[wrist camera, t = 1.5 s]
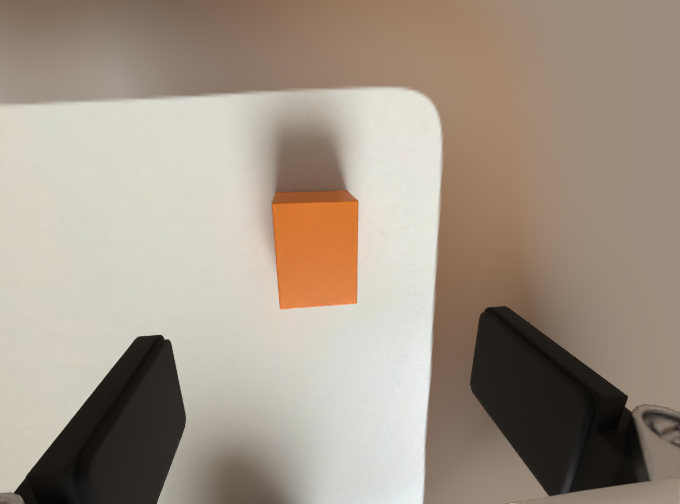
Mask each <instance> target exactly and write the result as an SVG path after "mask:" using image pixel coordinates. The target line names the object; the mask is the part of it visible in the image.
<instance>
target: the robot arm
mask: <svg viewBox="0 0 680 504" xmlns="http://www.w3.org/2000/svg"><path fill="white" fill-rule="evenodd" d="M470 385H471V390H472V392H473V394H474V395H475V397H476V398H477V399H478V401H479V402H480V403H481V405H482V406H483V407H484V409H485V410H486V412H487V413H488V414H489V416H490V417H491V418H492V420H493V421H494V422H495V423H496V425H497V426H498V428H499V429H500V430H501V432H502V433H503V435H504V436H505V437H506V438H507V440H508V441H509V442H510V444H511V445H512V447H513V448H514V449H515V451H516V452H517V453H518V455H519V456H520V457H521V459H522V460H523V462H524V463H525V464H526V466H527V467H528V468H529V470H530V471H531V472H532V474H533V475H534V476H535V478H536V479H537V480H538V482H539V483H540V485H541V486H542V487H543V489H544V490H545V491H546V492H547V494H548V495H549V497H544V498H537V499H531V500H525V501H519V502H513V503H507V504H680V412H678V411H675V410H672V409H670V408H667V407H662V406H658V405H648V404H643V405H639V406H636V407H635V409H633V412H631V411H629V410H628V409H627V408H626V407H625V404H626V401H627V398H628V396H627V395H625V394H624V393H623V392H621V391H620V390H619V389H617V388H616V387H615V386H613V385H612V384H611V383H609V382H608V381H607V380H605V379H604V378H603V377H601V376H600V375H598V374H597V373H596V372H594V371H593V370H592V369H590V368H589V367H587V366H586V365H585V364H584V363H582V362H581V361H580V360H578V359H577V358H576V357H574V356H573V355H571V354H570V353H569V352H568V351H566V350H565V349H563V348H562V347H561V346H559V345H558V344H557V343H555V342H554V341H553V340H551V339H550V338H549V337H547V336H546V335H545V334H543V333H542V332H540V331H539V330H538V329H536V328H535V327H534V326H532V325H531V324H530V323H528V322H527V321H526V320H524V319H523V318H522V317H520V316H519V315H517V314H516V313H515V312H513V311H512V310H511V309H510V308H508V307H506V306H501V307H489V308H486V309H485V311H484V312H483V313H481V315H480V318H479V325H478V332H477V338H476V346H475V352H474V359H473V366H472V373H471V380H470ZM185 423H186V415H185V409H184V404H183V399H182V394H181V390H180V385H179V380H178V375H177V370H176V365H175V360H174V355H173V350H172V345H171V342H170V340H168V339H167V340H164V338H163V336H162V335H152V336H140V337H137V338H136V339H135V340H134V342H133V343H132V344H131V345H130V347H129V348H128V349H127V350H126V352H125V353H124V354H123V355H122V357H121V358H120V359H119V360H118V362H117V363H116V364H115V365H114V367H113V368H112V369H111V370H110V372H109V373H108V374H107V375H106V377H105V378H104V379H103V380H102V382H101V383H100V384H99V385H98V387H97V388H96V389H95V390H94V392H93V393H92V394H91V396H90V397H89V398H88V399H87V401H86V402H85V403H84V404H83V406H82V407H81V408H80V409H79V411H78V412H77V413H76V414H75V416H74V417H73V418H72V419H71V421H70V422H69V423H68V424H67V426H66V427H65V428H64V429H63V431H62V432H61V433H60V434H59V436H58V437H57V438H56V439H55V441H54V442H53V443H52V444H51V446H50V447H49V448H48V449H47V451H46V452H45V453H44V454H43V456H42V457H41V458H40V459H39V461H38V462H37V463H36V465H35V466H34V467H33V468H32V470H31V471H30V472H29V473H28V475H27V476H26V478H25V479H24V481H23V482H22V483H21V484H20V486H19V487H18V488H17V489H16V491H15V492H14V493H11V492H9V493H0V504H157V501H158V499H159V496H160V493H161V491H162V488H163V485H164V482H165V480H166V477H167V474H168V472H169V469H170V466H171V464H172V461H173V458H174V456H175V453H176V450H177V447H178V445H179V442H180V439H181V437H182V434H183V431H184V428H185Z"/></svg>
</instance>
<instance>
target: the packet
mask: <svg viewBox="0 0 680 504" xmlns="http://www.w3.org/2000/svg"><path fill="white" fill-rule="evenodd" d="M272 212H273V225H274V238H275V251H276V264H277V277H278V291H279V304H280V309H290V308H303V307H317V306H330V305H343V304H356V303H357V253H358V200H357V199H356V198H354V197H353V196H352V195H351V194H350V193H349V192H348V191H346V190H345V191H308V192H276V193H275V196H274V199H273V202H272Z"/></svg>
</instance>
